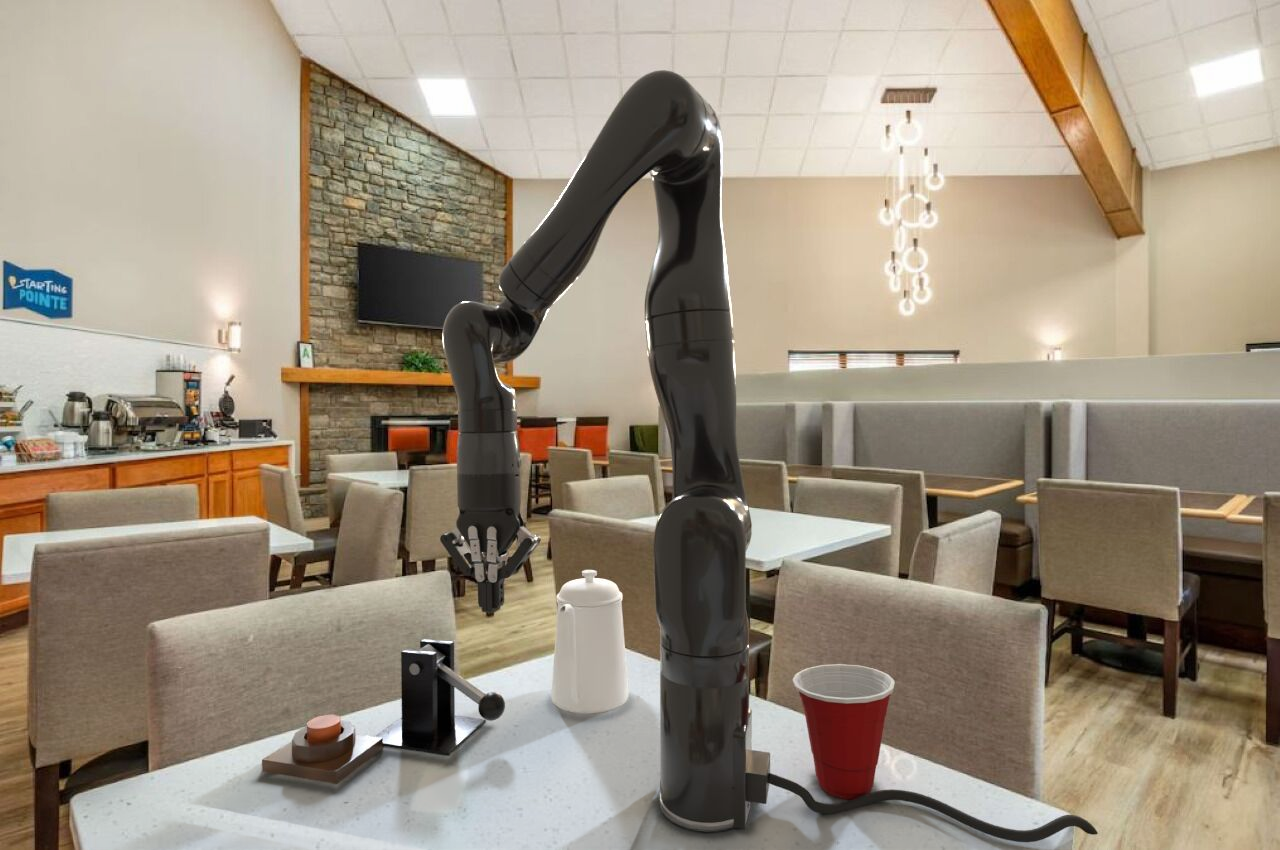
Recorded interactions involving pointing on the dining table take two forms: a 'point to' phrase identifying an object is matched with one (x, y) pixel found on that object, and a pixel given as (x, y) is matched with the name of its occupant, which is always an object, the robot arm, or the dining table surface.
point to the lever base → (428, 705)
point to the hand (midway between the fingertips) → (491, 610)
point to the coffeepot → (589, 647)
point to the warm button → (323, 728)
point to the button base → (323, 755)
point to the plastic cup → (844, 724)
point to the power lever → (470, 689)
